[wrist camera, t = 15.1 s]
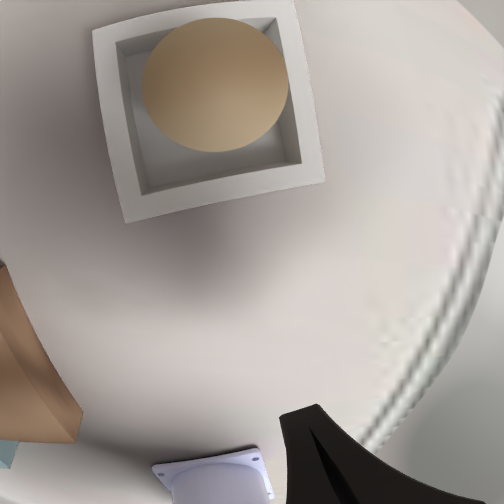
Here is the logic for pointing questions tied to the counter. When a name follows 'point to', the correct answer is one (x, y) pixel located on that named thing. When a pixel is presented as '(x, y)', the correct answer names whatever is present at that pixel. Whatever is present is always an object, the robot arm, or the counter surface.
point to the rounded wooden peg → (215, 84)
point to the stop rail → (7, 452)
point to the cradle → (189, 160)
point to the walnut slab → (30, 380)
